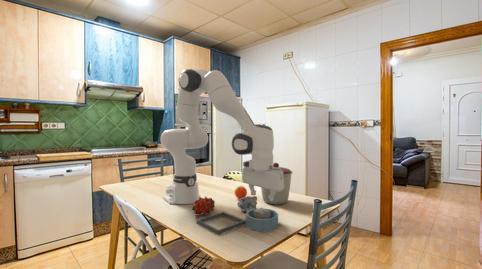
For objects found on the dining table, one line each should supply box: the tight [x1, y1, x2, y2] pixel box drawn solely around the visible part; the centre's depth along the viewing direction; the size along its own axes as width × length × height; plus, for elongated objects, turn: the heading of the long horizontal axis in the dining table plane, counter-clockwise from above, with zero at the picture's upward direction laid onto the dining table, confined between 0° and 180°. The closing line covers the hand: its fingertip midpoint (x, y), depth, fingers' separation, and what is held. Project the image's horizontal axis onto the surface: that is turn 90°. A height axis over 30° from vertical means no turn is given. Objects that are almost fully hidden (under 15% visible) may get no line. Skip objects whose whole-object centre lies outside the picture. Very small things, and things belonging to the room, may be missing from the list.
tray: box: [196, 211, 246, 236], centre depth 100 cm, size 14×14×2 cm
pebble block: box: [253, 207, 271, 219], centre depth 100 cm, size 5×5×5 cm
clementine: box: [234, 185, 248, 199], centre depth 135 cm, size 8×7×7 cm
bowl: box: [245, 208, 279, 232], centre depth 100 cm, size 13×13×4 cm
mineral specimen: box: [236, 195, 258, 213], centre depth 117 cm, size 10×8×10 cm
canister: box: [260, 162, 294, 206], centre depth 130 cm, size 18×18×21 cm
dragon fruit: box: [191, 196, 216, 217], centre depth 111 cm, size 8×8×12 cm
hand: (261, 197), depth 100 cm, fingers open, 8 cm apart
